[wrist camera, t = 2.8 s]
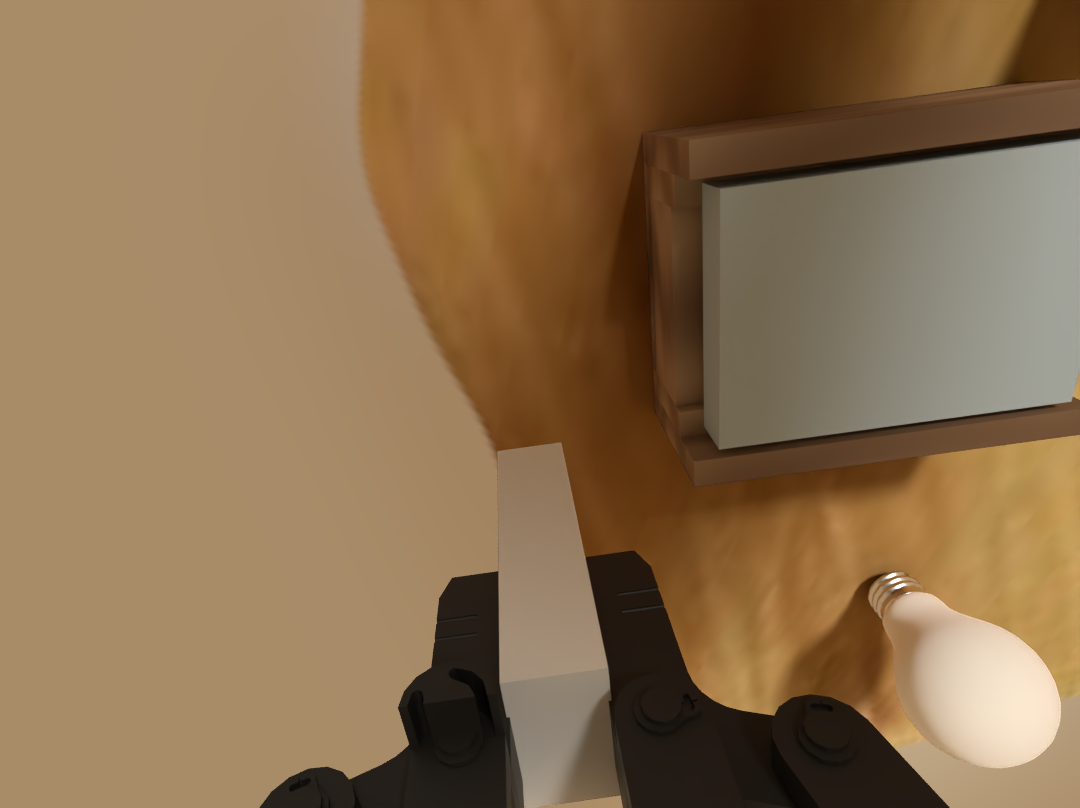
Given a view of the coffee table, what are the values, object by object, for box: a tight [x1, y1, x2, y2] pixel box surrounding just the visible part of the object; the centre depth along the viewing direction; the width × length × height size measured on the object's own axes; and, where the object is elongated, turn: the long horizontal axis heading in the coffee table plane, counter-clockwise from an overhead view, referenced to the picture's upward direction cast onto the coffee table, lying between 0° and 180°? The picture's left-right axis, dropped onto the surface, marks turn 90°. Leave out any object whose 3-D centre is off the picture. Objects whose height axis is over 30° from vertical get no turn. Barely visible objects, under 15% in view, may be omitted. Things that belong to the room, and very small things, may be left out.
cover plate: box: [702, 132, 1080, 450], centre depth 23 cm, size 10×14×2 cm
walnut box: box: [642, 79, 1080, 487], centre depth 26 cm, size 13×16×7 cm
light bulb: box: [868, 571, 1061, 768], centre depth 32 cm, size 7×7×11 cm
